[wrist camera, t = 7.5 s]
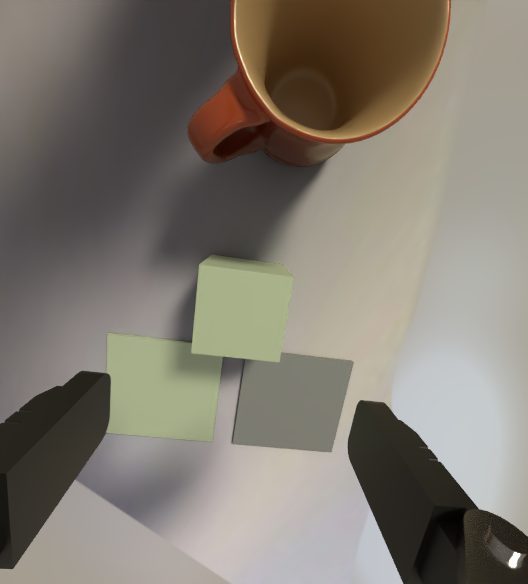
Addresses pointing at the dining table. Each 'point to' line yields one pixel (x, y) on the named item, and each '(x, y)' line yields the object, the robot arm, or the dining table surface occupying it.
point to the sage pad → (161, 388)
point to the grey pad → (291, 402)
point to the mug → (319, 76)
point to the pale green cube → (241, 308)
